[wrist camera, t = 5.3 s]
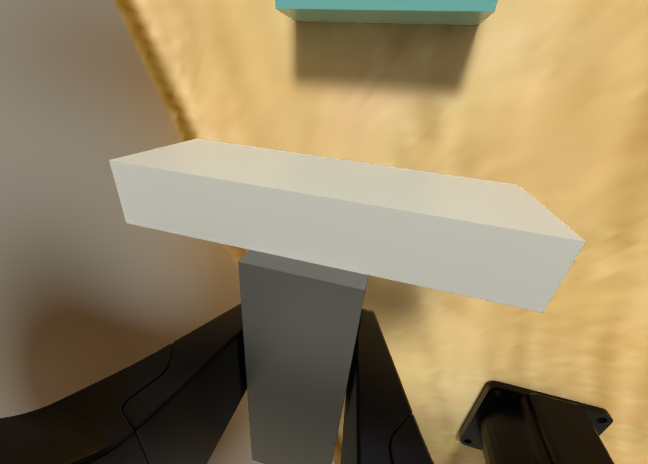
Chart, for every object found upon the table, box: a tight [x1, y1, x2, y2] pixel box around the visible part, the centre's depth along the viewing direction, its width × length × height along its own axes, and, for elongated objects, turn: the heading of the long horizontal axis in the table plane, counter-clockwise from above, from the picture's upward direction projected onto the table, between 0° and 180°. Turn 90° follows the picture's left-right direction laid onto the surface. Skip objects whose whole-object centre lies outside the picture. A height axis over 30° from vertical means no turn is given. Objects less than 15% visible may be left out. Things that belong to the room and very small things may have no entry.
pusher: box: [109, 138, 585, 464], centre depth 9 cm, size 10×9×4 cm
